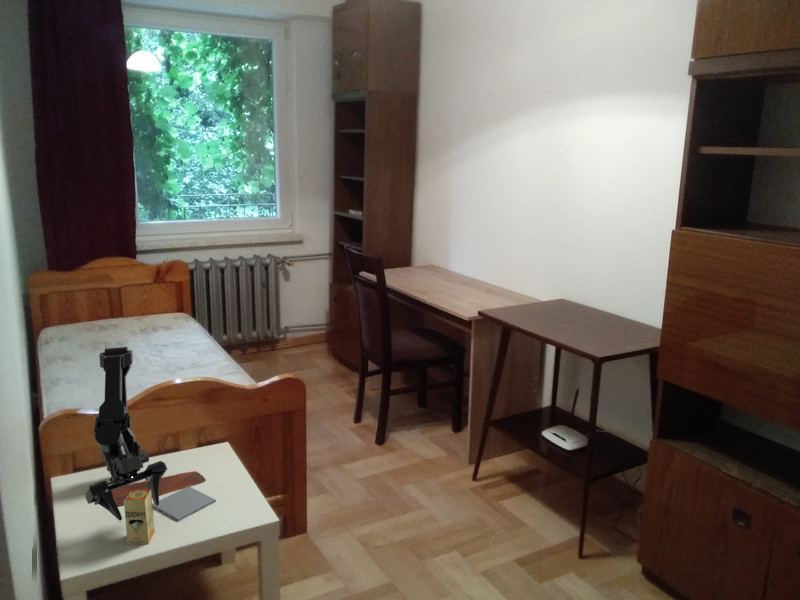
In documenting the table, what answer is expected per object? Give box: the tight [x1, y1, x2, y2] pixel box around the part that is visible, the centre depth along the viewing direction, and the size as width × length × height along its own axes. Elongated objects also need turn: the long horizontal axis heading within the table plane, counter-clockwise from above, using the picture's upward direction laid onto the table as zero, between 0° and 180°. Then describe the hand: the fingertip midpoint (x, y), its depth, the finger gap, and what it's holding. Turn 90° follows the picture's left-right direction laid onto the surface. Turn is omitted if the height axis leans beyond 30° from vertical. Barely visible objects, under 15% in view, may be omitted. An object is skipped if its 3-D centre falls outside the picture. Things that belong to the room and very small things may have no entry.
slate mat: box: [152, 486, 217, 522], centre depth 172 cm, size 12×12×1 cm
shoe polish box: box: [123, 489, 156, 545], centre depth 155 cm, size 5×5×12 cm
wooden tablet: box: [112, 471, 206, 508], centre depth 180 cm, size 27×10×2 cm, turn 123°
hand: (139, 512), depth 155 cm, fingers open, 9 cm apart
